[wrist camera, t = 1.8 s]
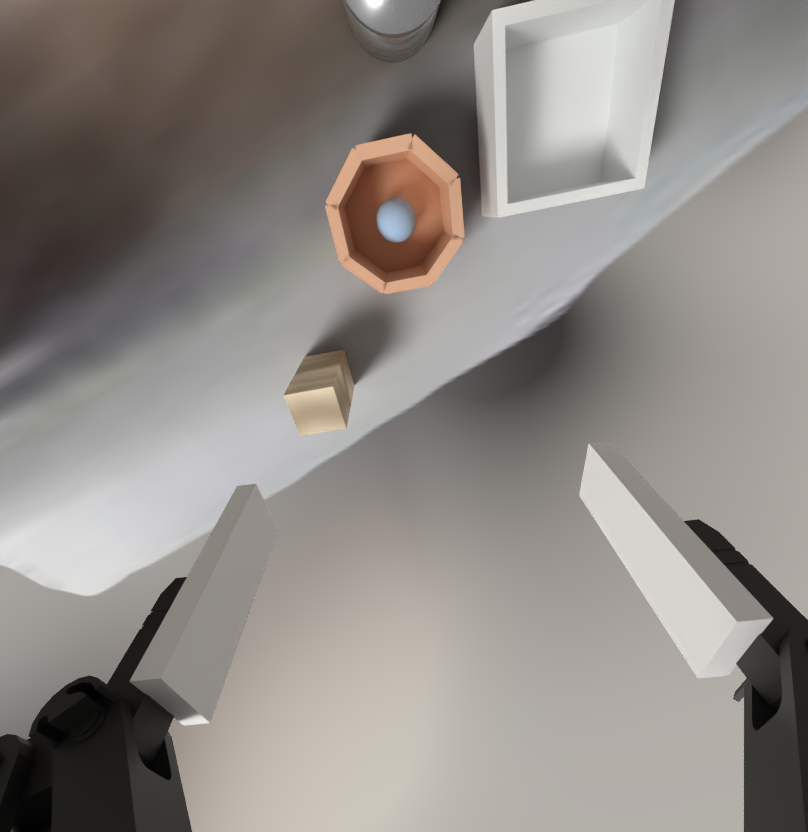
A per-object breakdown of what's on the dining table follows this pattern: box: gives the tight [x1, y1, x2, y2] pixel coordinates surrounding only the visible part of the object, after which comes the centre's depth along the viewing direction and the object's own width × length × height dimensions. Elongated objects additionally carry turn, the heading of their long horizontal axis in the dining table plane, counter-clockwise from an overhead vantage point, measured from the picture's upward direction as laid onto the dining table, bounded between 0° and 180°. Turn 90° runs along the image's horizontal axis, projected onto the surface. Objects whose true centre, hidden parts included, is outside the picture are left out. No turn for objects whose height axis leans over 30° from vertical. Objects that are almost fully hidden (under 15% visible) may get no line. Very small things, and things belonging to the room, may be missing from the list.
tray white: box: [474, 0, 675, 218], centre depth 23 cm, size 10×10×5 cm
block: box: [284, 350, 354, 436], centre depth 31 cm, size 4×4×8 cm
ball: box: [376, 197, 416, 243], centre depth 26 cm, size 3×3×3 cm
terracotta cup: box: [325, 133, 465, 294], centre depth 26 cm, size 9×9×6 cm
